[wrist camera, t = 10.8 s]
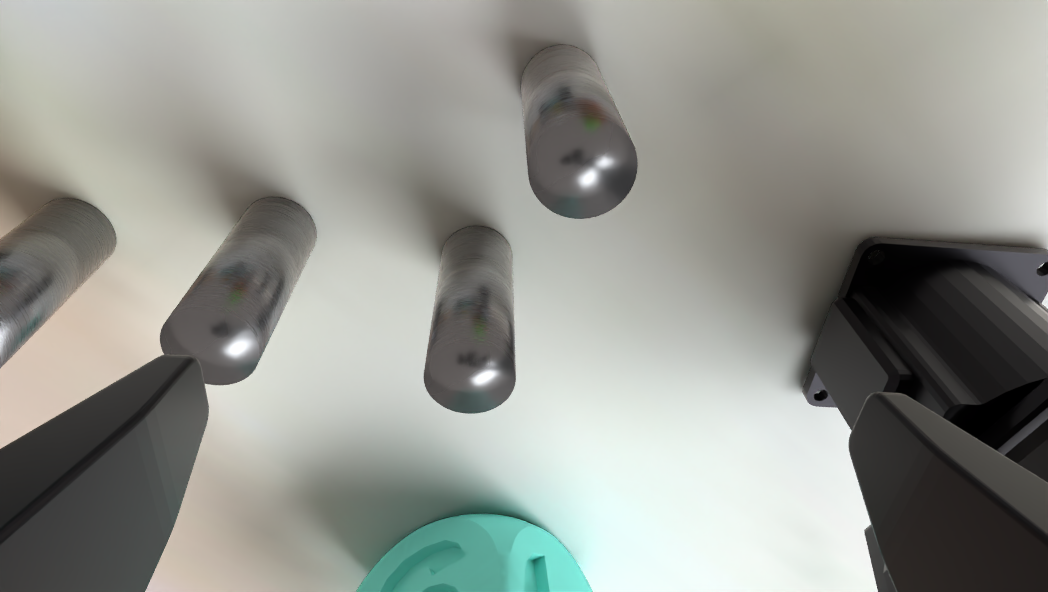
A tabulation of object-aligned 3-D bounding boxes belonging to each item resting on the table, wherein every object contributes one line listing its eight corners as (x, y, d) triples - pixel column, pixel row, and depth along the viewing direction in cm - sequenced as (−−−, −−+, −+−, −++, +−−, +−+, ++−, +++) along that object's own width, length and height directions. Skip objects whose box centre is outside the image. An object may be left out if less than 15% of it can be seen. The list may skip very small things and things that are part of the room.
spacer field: (647, -232, 16) (719, -274, 10) (571, 293, 23) (591, 419, 18) (-234, -334, 14) (-639, -439, 9) (-20, 257, 21) (-181, 381, 16)
